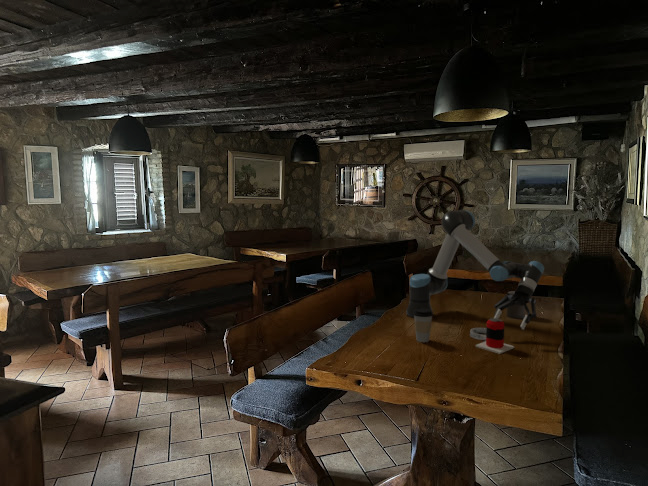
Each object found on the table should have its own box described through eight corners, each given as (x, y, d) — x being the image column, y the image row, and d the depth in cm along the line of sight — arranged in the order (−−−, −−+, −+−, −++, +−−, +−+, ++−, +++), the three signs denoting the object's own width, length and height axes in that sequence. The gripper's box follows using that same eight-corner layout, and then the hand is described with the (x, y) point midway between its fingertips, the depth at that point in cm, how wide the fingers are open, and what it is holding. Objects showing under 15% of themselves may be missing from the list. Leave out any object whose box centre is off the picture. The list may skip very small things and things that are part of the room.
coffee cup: (433, 344, 202) (433, 313, 201) (412, 343, 204) (412, 312, 203) (432, 337, 212) (432, 308, 210) (412, 336, 213) (412, 307, 212)
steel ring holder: (465, 335, 214) (465, 331, 214) (479, 330, 222) (479, 326, 222) (487, 342, 205) (487, 337, 204) (501, 336, 212) (501, 332, 212)
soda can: (492, 349, 193) (493, 323, 192) (482, 343, 200) (483, 318, 199) (507, 347, 195) (508, 321, 194) (496, 342, 202) (497, 317, 201)
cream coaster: (475, 346, 199) (475, 345, 199) (489, 341, 206) (490, 339, 206) (499, 354, 189) (499, 352, 189) (514, 347, 197) (514, 346, 197)
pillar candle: (506, 317, 245) (507, 291, 243) (506, 313, 254) (507, 288, 252) (525, 319, 241) (526, 293, 240) (524, 315, 250) (525, 289, 249)
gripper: (554, 298, 203) (536, 335, 196) (504, 289, 223) (486, 322, 216) (549, 288, 199) (531, 326, 192) (499, 280, 219) (481, 314, 212)
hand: (507, 324), depth 204 cm, fingers open, 13 cm apart
